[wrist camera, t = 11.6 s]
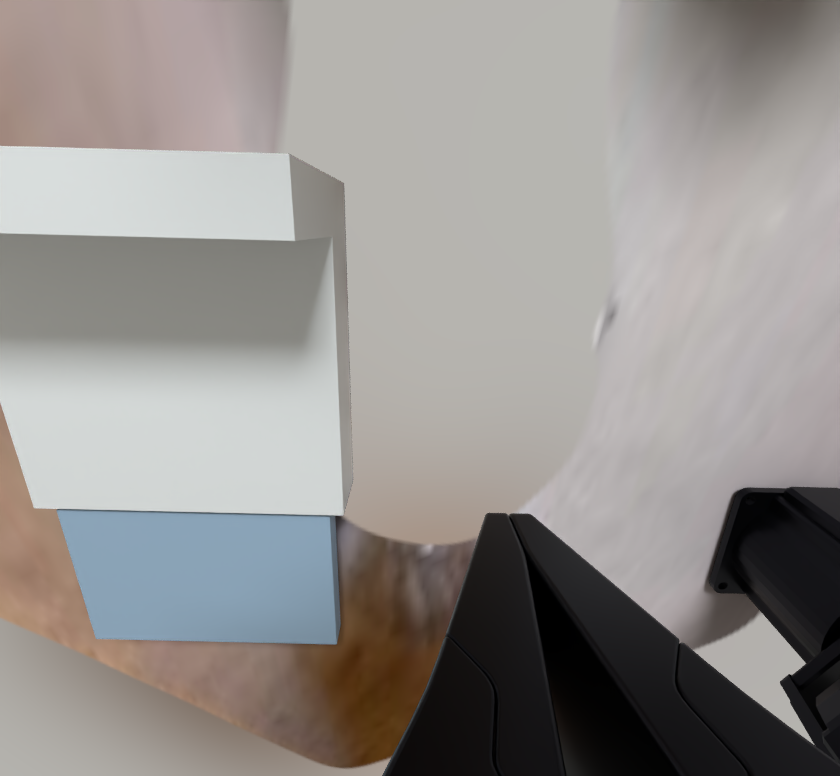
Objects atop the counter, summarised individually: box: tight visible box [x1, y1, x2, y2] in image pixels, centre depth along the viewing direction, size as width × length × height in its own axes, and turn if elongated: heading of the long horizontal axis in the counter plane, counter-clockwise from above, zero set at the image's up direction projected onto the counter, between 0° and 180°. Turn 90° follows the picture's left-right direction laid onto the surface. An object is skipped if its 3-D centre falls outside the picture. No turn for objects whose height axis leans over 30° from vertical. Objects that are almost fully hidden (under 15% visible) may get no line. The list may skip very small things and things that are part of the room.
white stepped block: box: [0, 146, 353, 516], centre depth 17 cm, size 14×14×8 cm
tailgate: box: [57, 509, 341, 644], centre depth 23 cm, size 2×13×8 cm
